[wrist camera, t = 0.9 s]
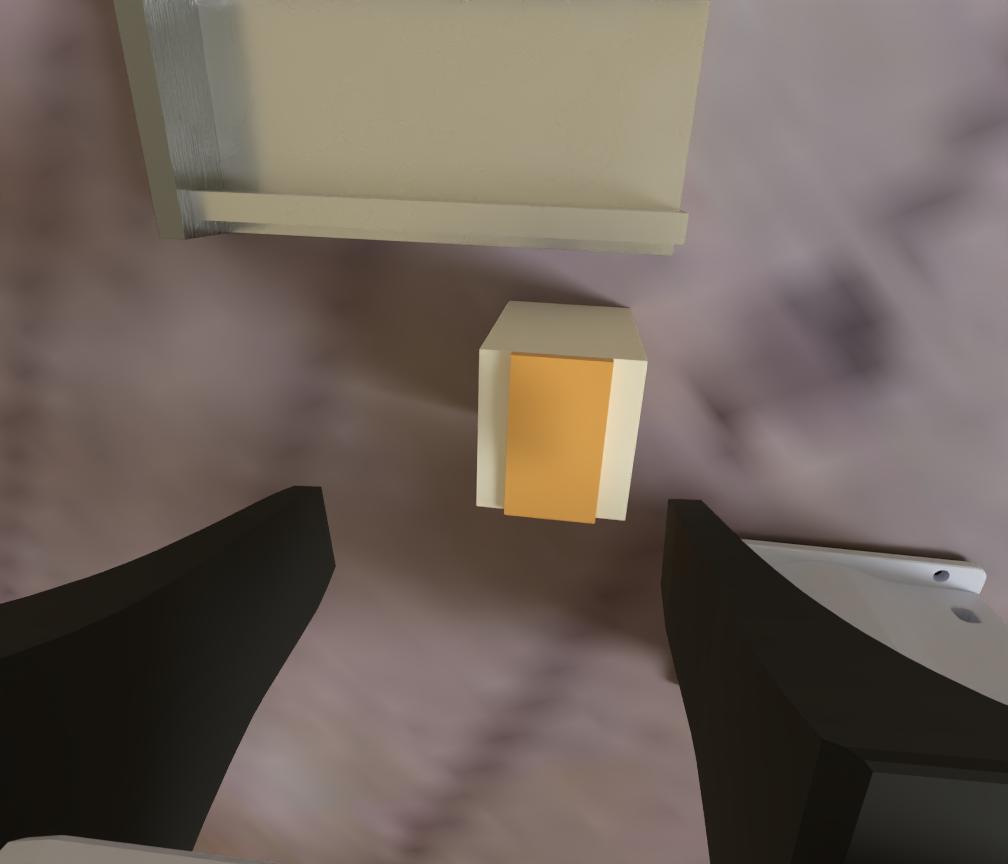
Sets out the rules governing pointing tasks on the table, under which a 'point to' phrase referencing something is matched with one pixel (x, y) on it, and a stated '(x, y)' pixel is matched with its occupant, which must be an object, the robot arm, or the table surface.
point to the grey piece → (418, 118)
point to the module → (559, 411)
